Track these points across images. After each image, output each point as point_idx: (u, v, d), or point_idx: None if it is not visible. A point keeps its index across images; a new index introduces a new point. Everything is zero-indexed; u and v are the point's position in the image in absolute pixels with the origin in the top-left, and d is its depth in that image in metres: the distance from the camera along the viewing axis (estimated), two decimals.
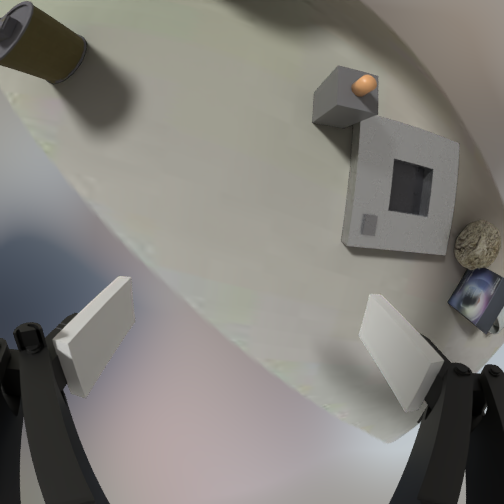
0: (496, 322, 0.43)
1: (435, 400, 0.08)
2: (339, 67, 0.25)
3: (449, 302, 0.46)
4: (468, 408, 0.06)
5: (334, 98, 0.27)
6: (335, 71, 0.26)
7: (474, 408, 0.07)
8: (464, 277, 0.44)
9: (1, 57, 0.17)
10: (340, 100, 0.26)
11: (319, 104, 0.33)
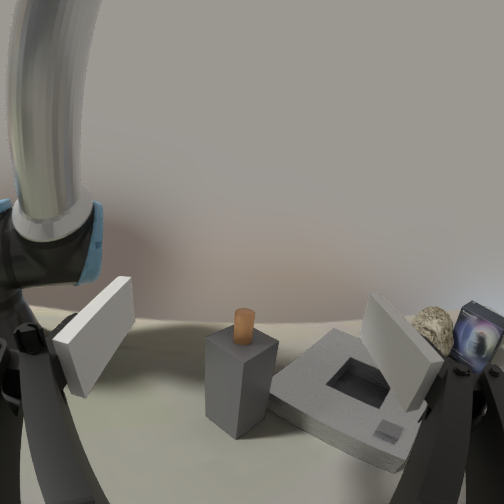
0: None
1: (435, 400, 0.08)
2: (208, 338, 0.26)
3: (480, 373, 0.34)
4: (468, 408, 0.06)
5: (234, 366, 0.23)
6: (208, 347, 0.26)
7: (474, 408, 0.07)
8: (458, 359, 0.39)
9: None
10: (241, 357, 0.23)
11: (224, 409, 0.26)
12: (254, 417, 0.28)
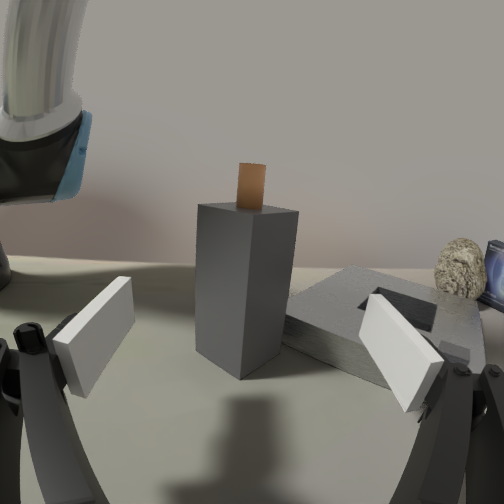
0: None
1: (435, 400, 0.08)
2: (201, 204, 0.19)
3: None
4: (468, 408, 0.06)
5: (238, 229, 0.17)
6: (201, 219, 0.19)
7: (474, 408, 0.07)
8: (491, 303, 0.33)
9: None
10: (248, 212, 0.17)
11: (222, 325, 0.19)
12: (266, 344, 0.21)
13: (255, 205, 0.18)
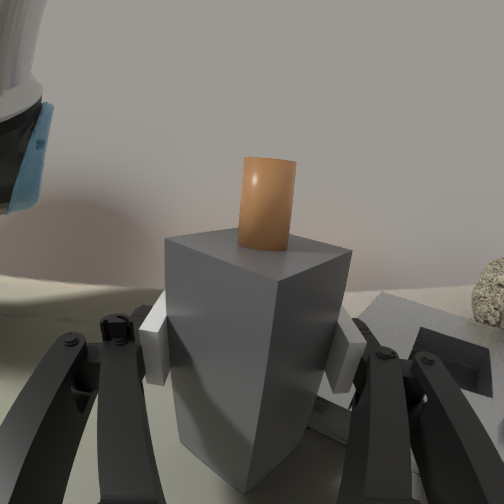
0: None
1: (362, 386, 0.09)
2: (171, 238, 0.10)
3: None
4: (400, 392, 0.07)
5: (242, 304, 0.08)
6: (171, 267, 0.10)
7: (406, 396, 0.09)
8: None
9: None
10: (266, 270, 0.07)
11: (215, 435, 0.10)
12: (284, 447, 0.12)
13: (276, 243, 0.09)
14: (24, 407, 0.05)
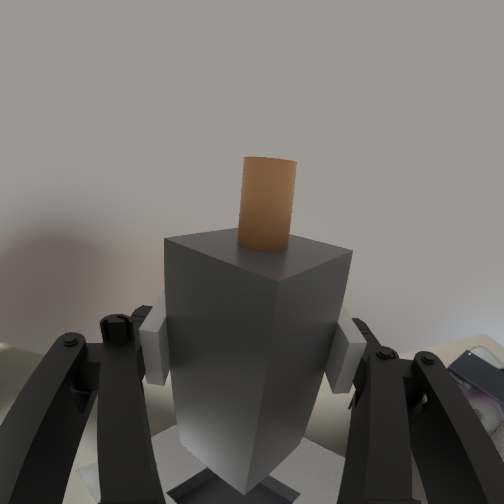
0: None
1: (362, 386, 0.09)
2: (171, 239, 0.10)
3: None
4: (400, 392, 0.07)
5: (242, 304, 0.08)
6: (170, 267, 0.10)
7: (406, 396, 0.09)
8: None
9: None
10: (266, 271, 0.07)
11: (215, 436, 0.10)
12: (284, 447, 0.12)
13: (276, 243, 0.09)
14: (24, 407, 0.05)
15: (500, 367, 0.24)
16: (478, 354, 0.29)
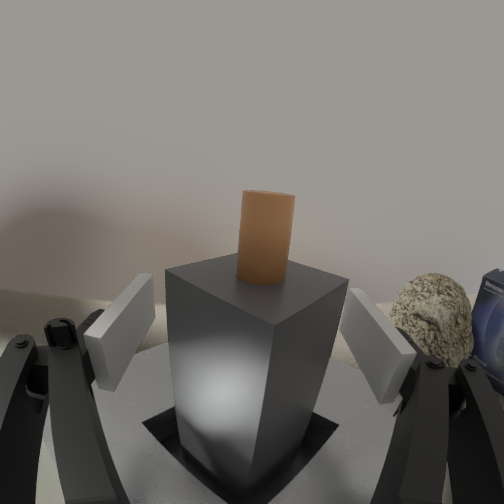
0: None
1: (409, 394, 0.09)
2: (172, 270, 0.10)
3: None
4: (444, 401, 0.06)
5: (241, 341, 0.08)
6: (171, 297, 0.10)
7: (450, 403, 0.08)
8: None
9: None
10: (264, 312, 0.08)
11: (216, 450, 0.10)
12: (281, 459, 0.12)
13: (274, 277, 0.10)
14: None
15: None
16: None
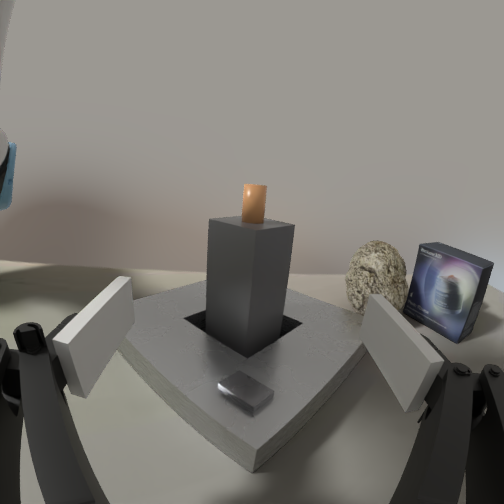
0: None
1: (435, 400, 0.08)
2: (212, 219, 0.23)
3: (456, 339, 0.27)
4: (468, 408, 0.06)
5: (243, 241, 0.20)
6: (211, 231, 0.23)
7: (474, 408, 0.07)
8: (423, 320, 0.32)
9: None
10: (252, 228, 0.20)
11: (229, 321, 0.23)
12: (267, 338, 0.24)
13: (257, 220, 0.22)
14: None
15: None
16: None
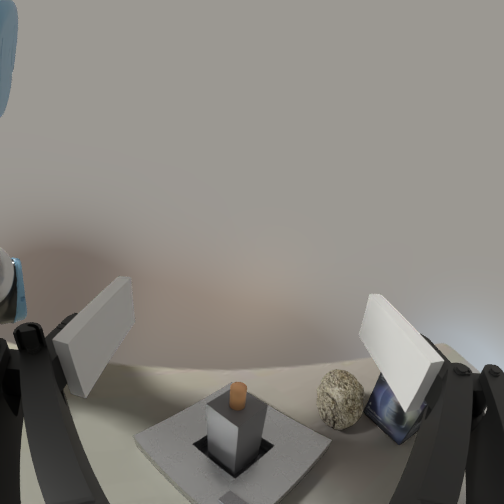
0: None
1: (435, 400, 0.08)
2: (208, 404, 0.28)
3: (399, 442, 0.32)
4: (468, 408, 0.06)
5: (230, 427, 0.26)
6: (208, 410, 0.28)
7: (474, 408, 0.07)
8: (376, 422, 0.38)
9: None
10: (236, 422, 0.26)
11: (223, 453, 0.29)
12: (249, 457, 0.30)
13: (240, 408, 0.28)
14: None
15: None
16: None
